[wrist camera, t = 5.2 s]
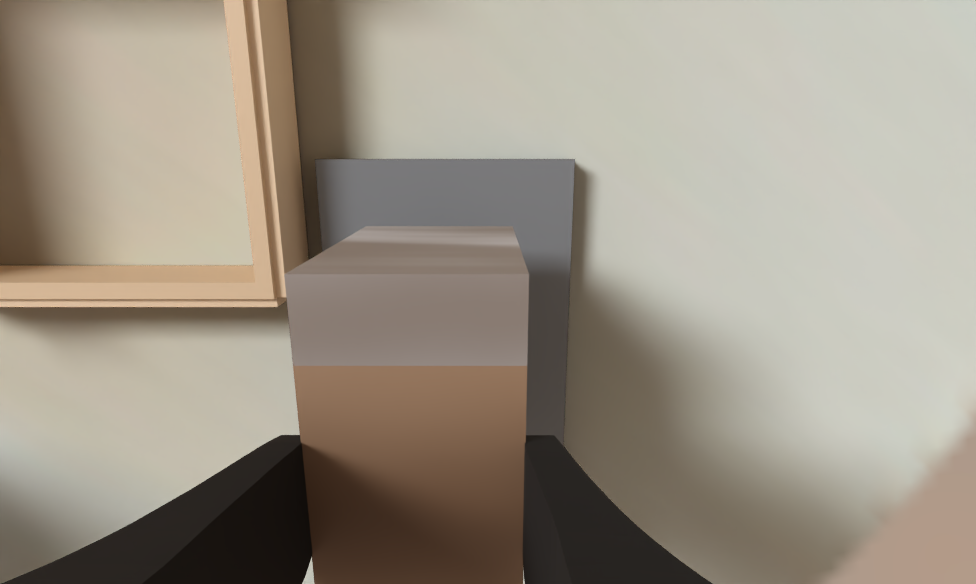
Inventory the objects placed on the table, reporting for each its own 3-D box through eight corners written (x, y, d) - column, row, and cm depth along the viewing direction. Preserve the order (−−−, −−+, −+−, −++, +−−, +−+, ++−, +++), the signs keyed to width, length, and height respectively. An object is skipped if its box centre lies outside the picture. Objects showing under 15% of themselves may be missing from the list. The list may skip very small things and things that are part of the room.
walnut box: (509, 483, 16) (521, 662, 11) (380, 483, 16) (321, 662, 11) (512, 226, 14) (529, 274, 9) (365, 226, 14) (283, 274, 9)
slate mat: (558, 485, 20) (561, 498, 19) (347, 485, 20) (342, 498, 19) (570, 159, 17) (574, 159, 16) (323, 158, 17) (315, 159, 16)
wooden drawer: (312, 288, 18) (248, 336, 13) (-47, 288, 18) (-241, 336, 13) (276, -131, 15) (176, -266, 10) (-155, -131, 15) (-459, -266, 10)
